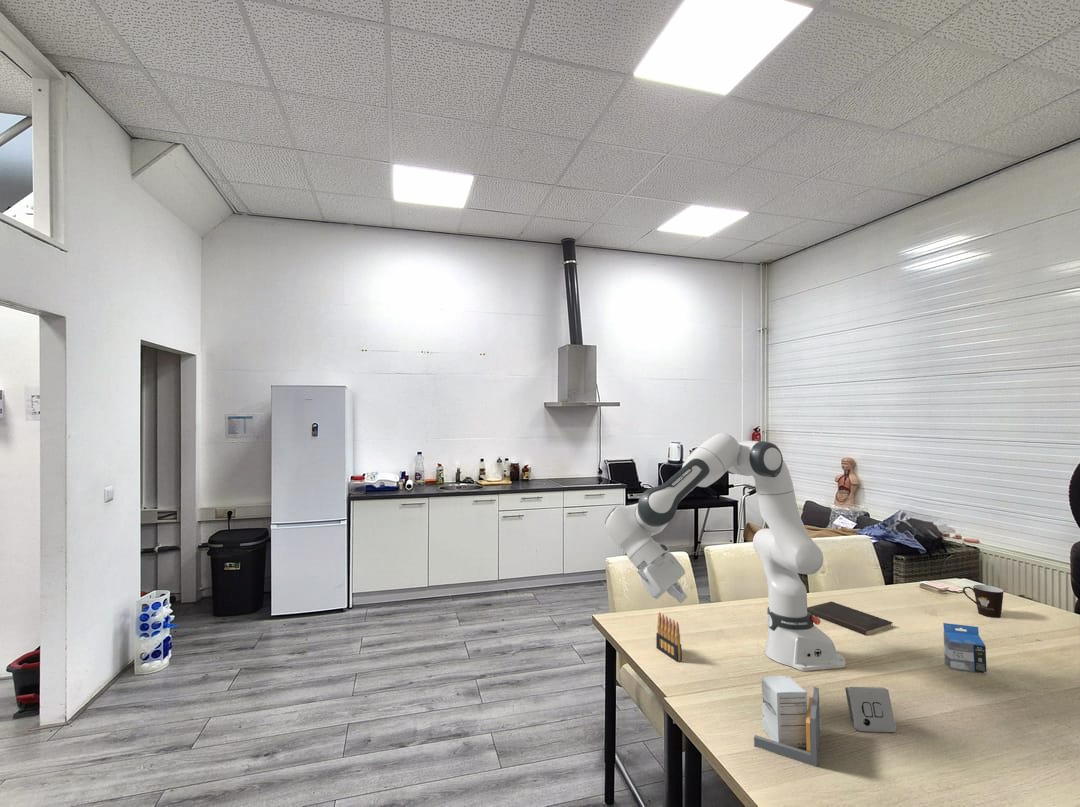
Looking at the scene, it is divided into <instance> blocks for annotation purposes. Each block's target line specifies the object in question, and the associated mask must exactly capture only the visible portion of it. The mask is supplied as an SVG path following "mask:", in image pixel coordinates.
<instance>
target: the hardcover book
mask: <svg viewBox="0 0 1080 807" xmlns="http://www.w3.org/2000/svg"><path fill="white" fill-rule="evenodd" d="M807 612H809V613H810V614H812V615H813V616H816V617H817V618H819V619H820V620H823V621H827V622H829V623H832V624H835V625H837V626H840V627H842V628H845V629H848V630H850V631H853V632H855V633H858V634H861V635H864V636H867V635H870V634H871V635H872V634H874V633H877V632H880V631H884V630H886V629H890V628H892V627H893V626H892V624H893V621H890V620H887V619H885V618H881V617H879V616H875V615H872V614H870V613H866V612H865V611H861V610H858V609H855V608H852V607H849V606H846V605H843V604H840V603H837V602H834V601H827V602H824V603H819V604H816V605H813V606H807Z"/></svg>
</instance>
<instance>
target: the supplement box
mask: <svg viewBox="0 0 1080 807" xmlns="http://www.w3.org/2000/svg"><path fill="white" fill-rule="evenodd" d="M760 680H761V707H762V708H761V710H762V713H761V714H762V717H761V719H762V729H763V730H764V731H765V732H766V733H767V735H768V736H769V737H770V739H771V740H773V741H776V742H779V743H782V744H785V745H788V746H791V747H794V748H807V745H806V717H807V710H808V691H806V689H804V688H803V687H802V686H801V685H799V684H798V682H796V681H795V680H794V678H792V677H791V676H790V675H767V676H761V679H760Z"/></svg>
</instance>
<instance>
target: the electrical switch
mask: <svg viewBox="0 0 1080 807" xmlns="http://www.w3.org/2000/svg"><path fill="white" fill-rule="evenodd" d="M844 689H845V695H846V700H847V706H848V712H849V717H850V723H851V724H852V725H853V727H854V729H855V730H856V731H858V732H869V733H870V732H874V733H875V732H878V733H896V731H897V728H896V727H897V726H896V723H895V716H894V712H893V707H892V702H891V697H890V692H889V690H888V689H887V688H885V687H884V686H883V687H881V686H880V687H878V686H848V687H844Z"/></svg>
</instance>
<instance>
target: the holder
mask: <svg viewBox="0 0 1080 807" xmlns="http://www.w3.org/2000/svg"><path fill="white" fill-rule="evenodd" d="M812 698H813V699H812V706H811V714H810V733H811V753H810V752H807V750H804V749H801V748H799V747H796V748H794V747H791V746H788V745H785V744H782V743H779V742H776V741H773V740H772V739H769V738H766V737H762V736H759V735H757V734H754V736H753V743H754V744H753V746H754V748H755V747H756V748H759V749H761V748H762V749H761V750H764V749H765V751H767V750H768V751H769V752H770V751H771V753H774V754H776V753H777V754H776V755H781V756H783V757H786V758H788V759H792V760H795V761H798V762H801V763H804V764H808V765H810V766H813V767H815V768H816V767H818V760H819V759H818V758H819V749H820V748H819V746H820V737H821V719H820V718H821V715H820V714H821V712H820V711H821V710H820V709H821V708H820V688H819V687H817V686H816V687H815V686H814V687H813V694H812ZM768 751H767V752H768Z"/></svg>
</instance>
